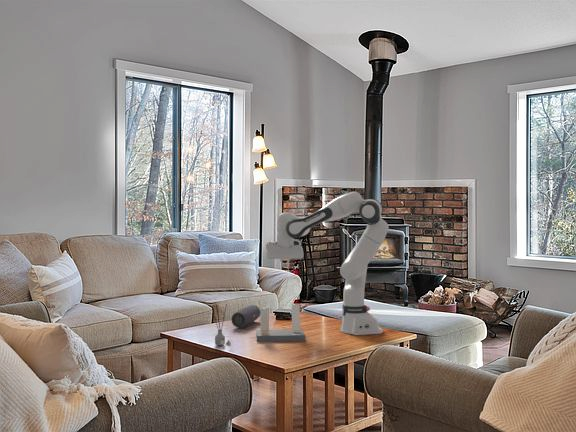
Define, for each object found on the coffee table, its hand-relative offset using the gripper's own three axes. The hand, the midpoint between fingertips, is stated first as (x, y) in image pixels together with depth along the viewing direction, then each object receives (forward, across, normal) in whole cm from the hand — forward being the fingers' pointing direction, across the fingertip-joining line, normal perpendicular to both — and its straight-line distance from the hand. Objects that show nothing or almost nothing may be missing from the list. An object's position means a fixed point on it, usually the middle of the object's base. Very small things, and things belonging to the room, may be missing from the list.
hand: (285, 267), depth 332 cm
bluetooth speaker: (+33, -21, +5) cm, 40 cm away
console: (+33, -4, -26) cm, 42 cm away
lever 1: (+30, -12, -26) cm, 42 cm away
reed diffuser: (+33, -34, -37) cm, 60 cm away
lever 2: (+30, +4, -26) cm, 40 cm away
